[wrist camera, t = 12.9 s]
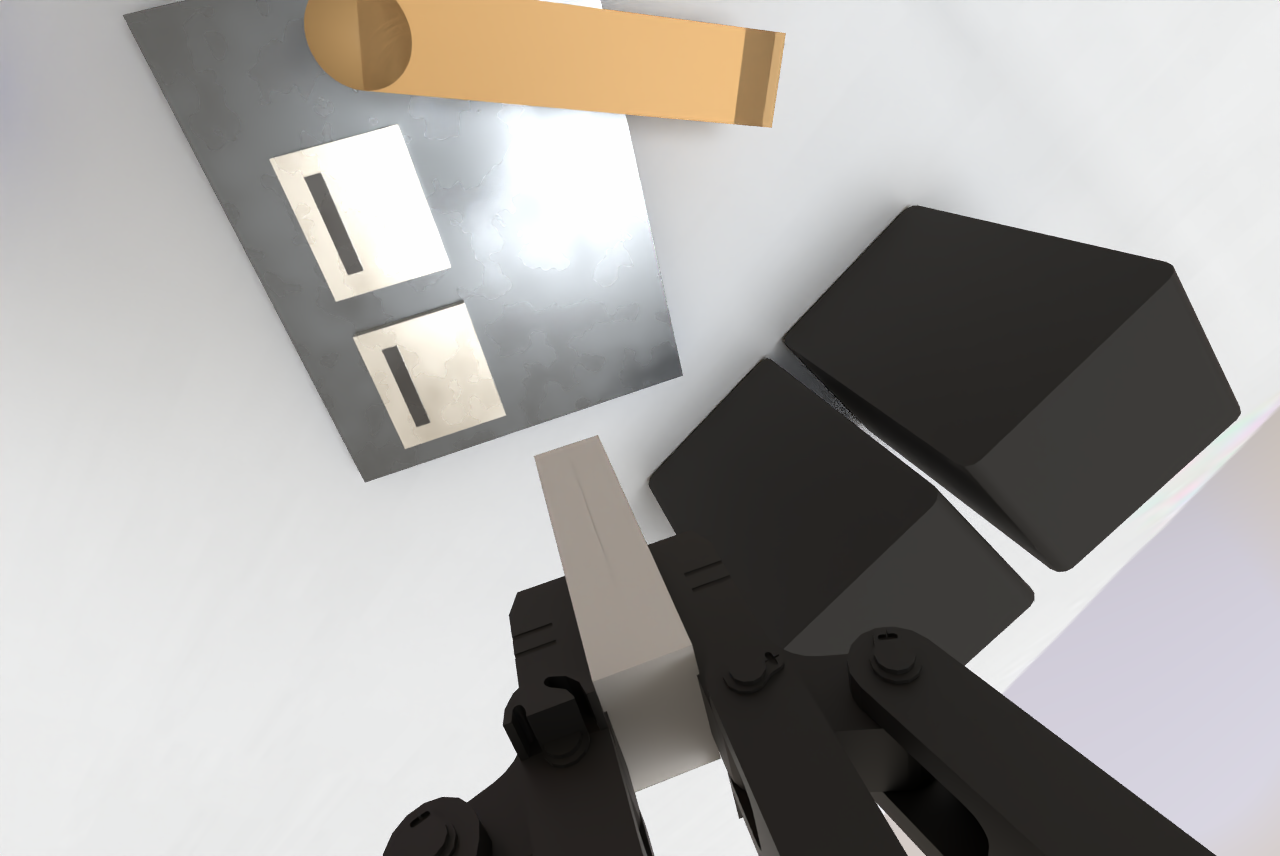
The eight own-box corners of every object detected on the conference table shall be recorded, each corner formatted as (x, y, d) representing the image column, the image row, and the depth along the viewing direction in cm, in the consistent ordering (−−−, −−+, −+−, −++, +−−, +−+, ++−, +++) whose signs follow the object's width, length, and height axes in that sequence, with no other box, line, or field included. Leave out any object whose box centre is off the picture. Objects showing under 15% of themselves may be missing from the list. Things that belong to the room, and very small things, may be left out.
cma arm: (321, 86, 30) (310, 85, 28) (310, -20, 29) (297, -32, 26) (745, 125, 36) (771, 127, 33) (756, 38, 34) (785, 33, 32)
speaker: (740, 550, 53) (876, 750, 37) (645, 479, 48) (755, 675, 32) (982, 308, 49) (1251, 412, 33) (907, 203, 44) (1183, 265, 28)
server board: (140, 19, 30) (115, 13, 28) (572, -83, 33) (583, -97, 30) (367, 466, 42) (364, 488, 39) (673, 364, 44) (686, 379, 42)
